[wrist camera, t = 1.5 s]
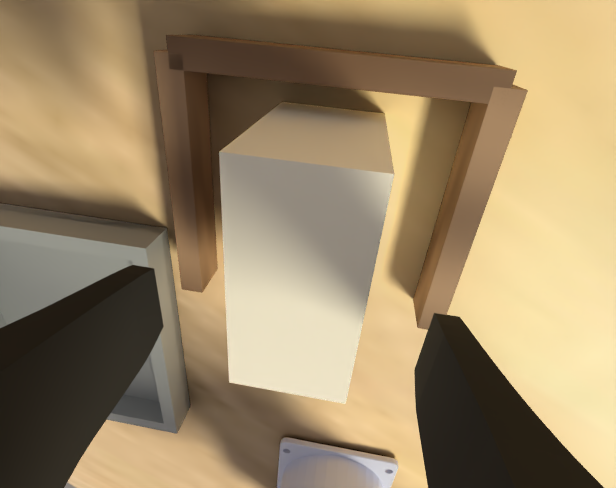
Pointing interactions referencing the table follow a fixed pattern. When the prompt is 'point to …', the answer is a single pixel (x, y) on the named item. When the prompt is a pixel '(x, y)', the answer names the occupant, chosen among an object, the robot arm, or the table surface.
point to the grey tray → (85, 271)
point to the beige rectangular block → (302, 244)
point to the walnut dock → (343, 74)
